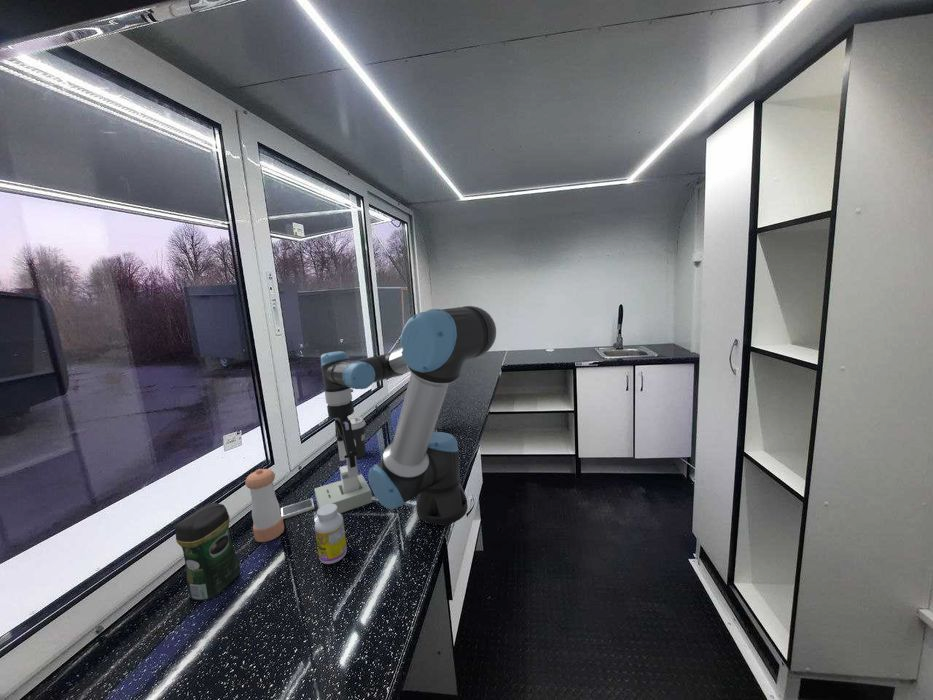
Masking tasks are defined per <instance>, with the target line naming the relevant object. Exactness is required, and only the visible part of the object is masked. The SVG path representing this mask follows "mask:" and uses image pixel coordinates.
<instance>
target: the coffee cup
mask: <svg viewBox="0 0 933 700" xmlns="http://www.w3.org/2000/svg"><path fill="white" fill-rule="evenodd" d="M347 418H348V417H347ZM348 419H349V420H350V422H351V427H352V433H353V437H354V442H355V446H356V451H357V456H356V460H359V459H361V458H364V457H365V456H366V440H365V439H366V434H365V433H366V430H365V426H366V421H365V420H364V418H363V417H360V416H355V417H354V416H353V417H349V418H348ZM350 453H351V452H350Z"/></svg>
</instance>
